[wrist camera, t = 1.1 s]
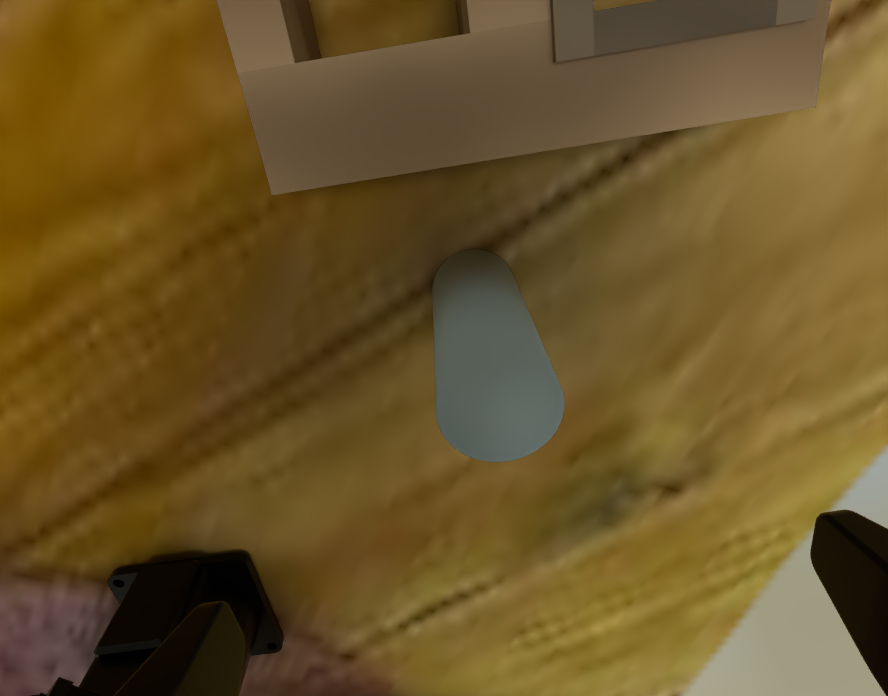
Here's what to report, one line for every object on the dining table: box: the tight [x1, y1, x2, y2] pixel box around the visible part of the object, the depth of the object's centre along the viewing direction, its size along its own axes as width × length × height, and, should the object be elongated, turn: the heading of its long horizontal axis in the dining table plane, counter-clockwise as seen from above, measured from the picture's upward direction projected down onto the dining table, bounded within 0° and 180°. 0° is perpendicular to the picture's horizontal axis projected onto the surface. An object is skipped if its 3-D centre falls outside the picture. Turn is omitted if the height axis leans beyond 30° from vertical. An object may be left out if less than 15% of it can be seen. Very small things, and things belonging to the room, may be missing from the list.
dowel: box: [432, 249, 564, 462], centre depth 17 cm, size 3×3×8 cm
